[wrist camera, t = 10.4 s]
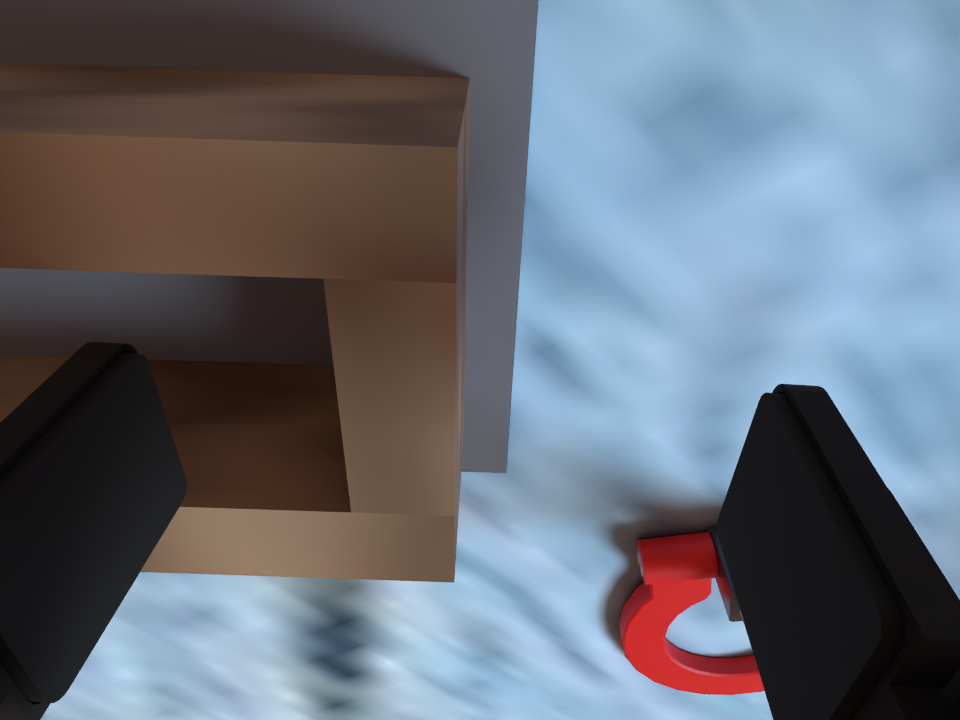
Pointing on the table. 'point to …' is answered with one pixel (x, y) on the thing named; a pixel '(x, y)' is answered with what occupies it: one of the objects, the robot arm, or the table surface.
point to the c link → (270, 253)
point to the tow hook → (668, 592)
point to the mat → (278, 300)
